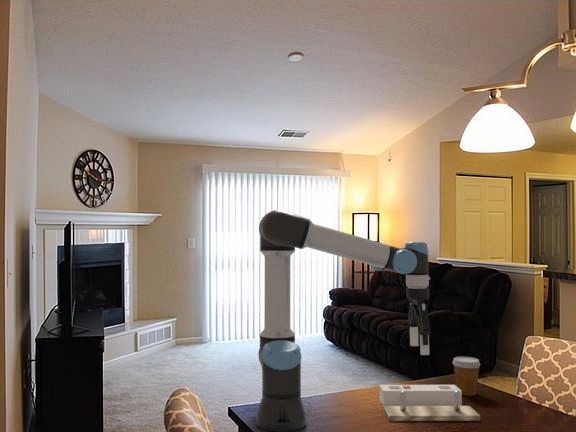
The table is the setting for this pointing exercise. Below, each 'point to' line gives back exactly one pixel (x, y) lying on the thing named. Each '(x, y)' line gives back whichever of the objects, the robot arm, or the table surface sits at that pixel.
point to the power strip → (419, 395)
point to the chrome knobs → (456, 401)
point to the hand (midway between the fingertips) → (419, 350)
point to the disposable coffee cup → (466, 374)
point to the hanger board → (431, 413)
